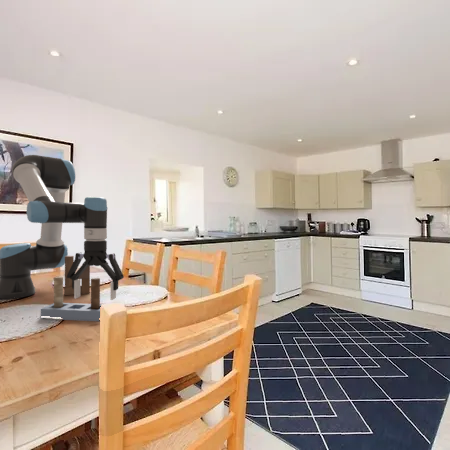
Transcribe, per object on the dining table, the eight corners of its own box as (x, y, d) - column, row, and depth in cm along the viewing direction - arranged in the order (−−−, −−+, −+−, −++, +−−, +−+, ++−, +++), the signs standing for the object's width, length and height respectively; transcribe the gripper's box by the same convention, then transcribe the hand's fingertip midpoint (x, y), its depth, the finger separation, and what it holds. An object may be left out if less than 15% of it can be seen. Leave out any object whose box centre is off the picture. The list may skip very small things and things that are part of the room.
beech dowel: (51, 316, 106) (51, 278, 106) (57, 314, 109) (57, 276, 109) (59, 316, 106) (59, 278, 105) (64, 314, 109) (64, 276, 108)
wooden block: (89, 293, 139) (89, 255, 138) (64, 295, 134) (64, 256, 134) (89, 291, 142) (89, 254, 142) (64, 293, 137) (64, 255, 137)
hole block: (40, 318, 104) (40, 308, 103) (55, 311, 112) (55, 302, 111) (100, 321, 102) (100, 311, 102) (110, 313, 110) (110, 304, 110)
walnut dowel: (89, 318, 105) (89, 279, 104) (93, 315, 108) (93, 277, 107) (97, 318, 104) (97, 279, 104) (101, 315, 107) (101, 278, 107)
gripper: (55, 239, 103) (55, 299, 103) (124, 241, 101) (124, 302, 101) (68, 238, 110) (68, 294, 111) (133, 240, 108) (132, 296, 109)
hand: (95, 298), depth 106 cm, fingers open, 13 cm apart
